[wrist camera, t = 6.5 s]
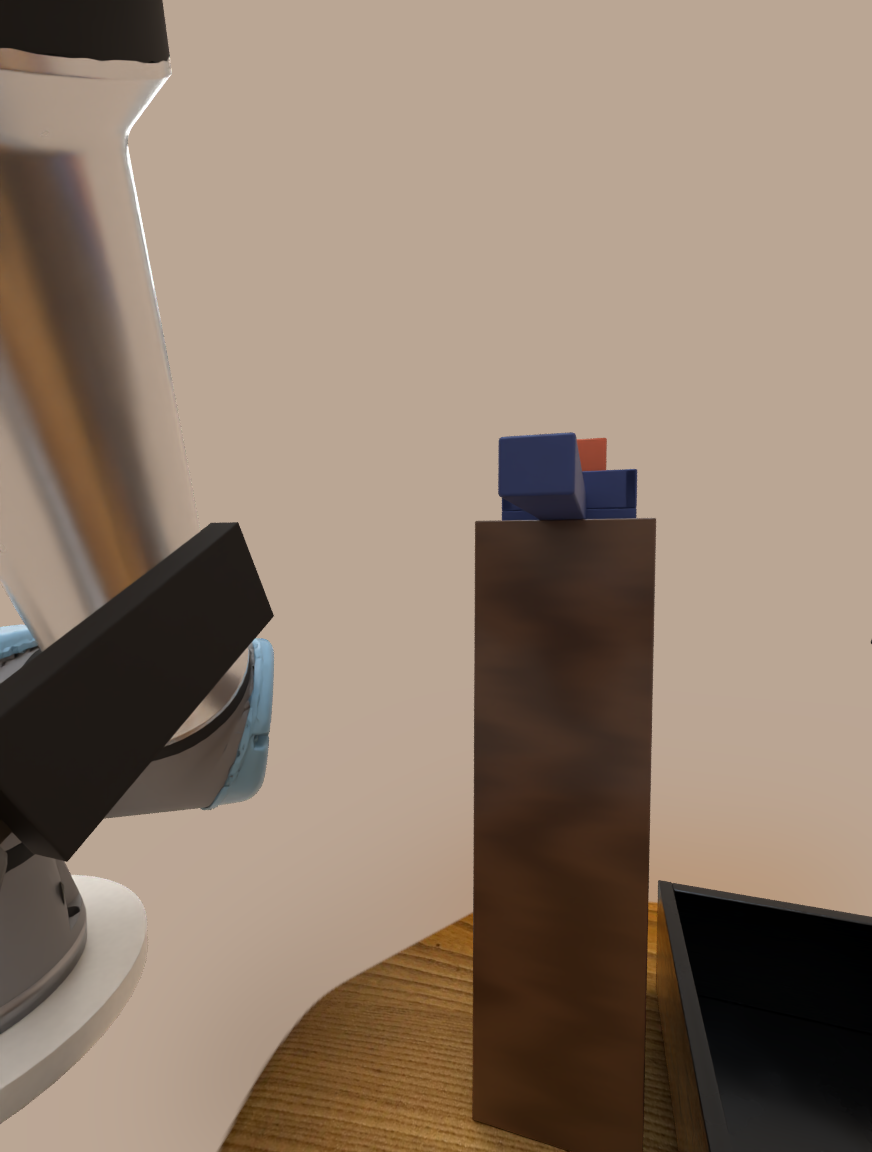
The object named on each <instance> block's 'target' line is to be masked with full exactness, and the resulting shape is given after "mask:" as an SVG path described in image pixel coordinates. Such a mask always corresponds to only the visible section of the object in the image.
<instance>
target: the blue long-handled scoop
mask: <svg viewBox="0 0 872 1152" xmlns="http://www.w3.org/2000/svg"><path fill="white" fill-rule="evenodd" d="M498 475H499V476H498V477H499V481H498V485H499V486H498V487H499V489H498V490H499V491H498V494H499V496H500V497H502V521H503V520H564V519H625V518H636V505H637V504H636V503H637V470H636V469H626V470H602V471H582V468H581V462H580V457H579V451H578V445H577V439H576V435H575V433H557V434H542V435H541V434H540V435H526V436H510V437H501V438H500V439H499V474H498Z"/></svg>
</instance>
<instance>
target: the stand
mask: <svg viewBox="0 0 872 1152" xmlns="http://www.w3.org/2000/svg"><path fill="white" fill-rule="evenodd" d="M655 546H656V519H655V518H625V519H564V520H503V521H476V522H475V673H474V674H475V676H474V680H475V682H474V887H473V889H474V891H473V892H474V893H473V894H474V895H473V897H474V898H473V1104H472V1118H473V1120H476V1121H479V1122H482V1123H485V1124H488V1125H491V1126H494V1127H497V1128H500V1129H503V1130H507V1131H510V1132H513V1133H516V1134H519V1135H522V1136H525V1137H528V1138H531V1139H534V1140H537V1141H540V1142H543V1143H546V1144H550V1145H553V1146H556V1147H559V1148H562V1149H565V1150H568V1151H571V1152H643V1132H644V1083H645V1035H646V986H647V937H648V889H649V840H650V839H649V838H650V791H651V742H652V695H653V692H652V691H653V646H654V597H655V596H654V594H655V548H656V547H655Z"/></svg>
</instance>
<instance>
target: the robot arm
mask: <svg viewBox="0 0 872 1152" xmlns="http://www.w3.org/2000/svg"><path fill="white" fill-rule="evenodd" d="M170 75H171V65H170V55H169V47H168V40H167V32H166V24H165V17H164V10H163V3H162V0H0V584H1V585H2V587H3V589H4V590H5V592H6V594H7V595H8V597H9V599H10V600H11V602H12V604H13V605H14V607H15V608H16V610H17V612H18V614H19V615H20V617H21V618H22V620H23V622H24V623H25V625H14V626H5V627H0V1034H1V1033H3V1032H4V1031H6V1030H7V1029H9V1028H10V1027H12V1026H13V1025H14V1024H16V1023H17V1022H19V1021H20V1020H21V1019H23V1018H24V1017H25V1016H27V1015H28V1014H29V1013H30V1012H32V1011H33V1010H34V1009H35V1008H36V1007H38V1006H39V1005H40V1004H41V1003H42V1002H43V1001H45V1000H46V999H47V998H48V997H49V996H50V995H51V994H52V993H53V992H54V991H55V990H56V989H57V988H58V987H59V986H60V985H61V984H62V983H63V981H64V980H65V979H66V978H67V977H68V975H69V974H70V973H71V971H72V970H73V969H74V967H75V966H76V964H77V963H78V961H79V959H80V957H81V955H82V953H83V951H84V948H85V944H86V941H87V915H86V908H85V905H84V902H83V899H82V897H81V894H80V892H79V890H78V888H77V886H76V884H75V882H74V880H73V878H72V876H71V874H70V872H69V870H68V868H67V866H66V864H65V862H64V861H66V862H67V861H68V860H69V859H70V858H71V857H72V855H73V854H74V853H75V852H76V851H77V850H78V848H79V847H80V846H81V845H82V843H83V842H84V841H85V840H86V839H87V838H88V836H89V835H90V834H91V833H92V832H93V831H94V829H95V828H96V827H97V826H98V825H99V823H100V822H101V821H102V820H103V819H104V818H113V817H122V816H131V815H140V814H150V813H159V812H168V811H177V810H185V809H195V808H201V809H202V810H211V809H212V808H213V809H214V808H215V807H218V805H223V804H229V803H236V802H242V801H245V800H248V799H250V798H251V797H253V796H254V795H255V794H256V793H257V792H258V791H259V789H260V788H261V786H262V783H263V781H264V777H265V771H266V765H267V756H268V746H269V737H268V734H269V732H270V723H271V714H272V697H273V677H274V652H273V648H272V645H271V643H270V642H269V641H268V640H266V639H262V638H261V639H260V638H256V637H257V635H258V634H259V633H260V632H261V631H262V629H263V628H264V627H265V626H266V625H267V624H268V622H269V621H270V620H271V619H272V618H273V616H274V615H273V612H272V610H271V607H270V605H269V602H268V600H267V597H266V594H265V591H264V589H263V586H262V584H261V581H260V579H259V576H258V573H257V571H256V568H255V565H254V563H253V560H252V558H251V555H250V552H249V550H248V547H247V544H246V542H245V539H244V537H243V534H242V531H241V529H240V526H239V523H238V522H237V523H210V524H209V525H208V526H207V527H205V528H204V529H203V530H200V525H199V520H198V515H197V509H196V504H195V498H194V493H193V488H192V483H191V478H190V472H189V467H188V462H187V456H186V451H185V446H184V441H183V435H182V430H181V425H180V419H179V415H178V409H177V404H176V398H175V393H174V388H173V383H172V378H171V373H170V367H169V362H168V356H167V351H166V346H165V341H164V335H163V330H162V325H161V320H160V315H159V309H158V304H157V298H156V293H155V288H154V283H153V278H152V272H151V267H150V262H149V257H148V251H147V246H146V241H145V235H144V230H143V225H142V220H141V214H140V209H139V204H138V198H137V193H136V188H135V183H134V177H133V173H132V167H131V161H130V157H129V151H128V146H127V144H128V135H129V131H130V129H131V128H132V126H133V125H134V123H135V122H136V121H137V119H138V118H139V117H140V115H141V114H142V112H143V111H144V110H145V109H146V107H147V106H148V105H149V103H150V102H151V100H152V99H153V98H154V96H155V95H156V94H157V92H158V91H159V90H160V88H161V87H162V86H163V84H164V83H165V82H166V80H167V79H168V78H169V76H170ZM871 644H872V640H871Z"/></svg>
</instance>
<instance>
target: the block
mask: <svg viewBox="0 0 872 1152" xmlns="http://www.w3.org/2000/svg"><path fill="white" fill-rule="evenodd" d="M606 444H607V439H606V438H593V439H577V445H578V451H579V457H580V462H581V468H582V471H602V470H606Z"/></svg>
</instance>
